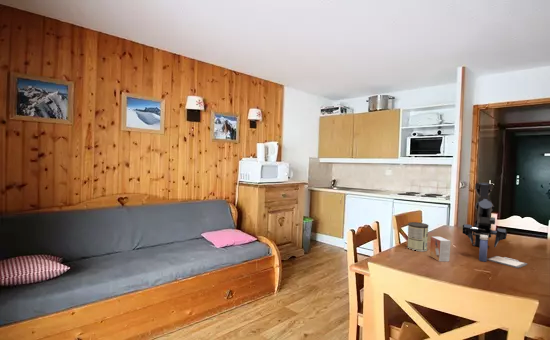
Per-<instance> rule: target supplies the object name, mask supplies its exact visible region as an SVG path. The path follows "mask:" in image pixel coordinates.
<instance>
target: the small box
mask: <svg viewBox="0 0 550 340" xmlns="http://www.w3.org/2000/svg"><path fill="white" fill-rule="evenodd" d="M429 244H430V246H429V257H431V258H433V259H435V260H436V261H438V262H450V256H451V244H452V242H451V240H450V239H447V238H444V237H442V236H430V243H429Z"/></svg>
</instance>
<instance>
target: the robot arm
mask: <svg viewBox="0 0 550 340" xmlns="http://www.w3.org/2000/svg"><path fill="white" fill-rule="evenodd" d="M474 190H475V192H476V195H477V196H478V198H477V202H475V209H476V211H477V219H476V221H475V222H474V225H473V226H472V224H467V223H463V225H462V234H463V235H465V236H467V237H468V238H469V240H470V243H471V244H472V246H475V247H478V248H480V235H481V234H482V235H488V239H489V238H492V235H494V236H495V240H494V245H493V246H494V248H496V247H497V245H498V243H500V241H503V240H507V235H508V230H507V229H506V228H500V227H499V228H498V227H497V228H496V230H494V229H493V230H492V225H495V224H496V217H494V216H493V217H491V214H492V211H493V210H494V209H495V205H494V203H492V200H491V198H489V195H490V194H491V192H492V191H493V184H492V183H489V182H483V181H481V182H476V183H475V186H474ZM474 236H475V237H474ZM474 238H475V239H474ZM487 248H489V245H488V246H487Z"/></svg>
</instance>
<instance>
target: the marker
mask: <svg viewBox="0 0 550 340" xmlns="http://www.w3.org/2000/svg"><path fill="white" fill-rule="evenodd" d="M488 242H489V237H488V235H482V234H481V235H480V247H479V253H478V261H479V262H483V263H487V261H488V260H487V259H488V247H487V246H489V245H488Z"/></svg>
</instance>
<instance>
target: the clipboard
mask: <svg viewBox="0 0 550 340" xmlns="http://www.w3.org/2000/svg"><path fill="white" fill-rule="evenodd" d="M487 261H489V262H493V263H496V264H501V265H505V266H508V267H512V268H516V269H521V268H522V267H525V266H527V265H528V263H527V262H522V261H519V259H514V258H511V257H510V258H509V257H506V256H504V257H502V256H499V255H495V256H492V257H489V258H488V257H487Z"/></svg>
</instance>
